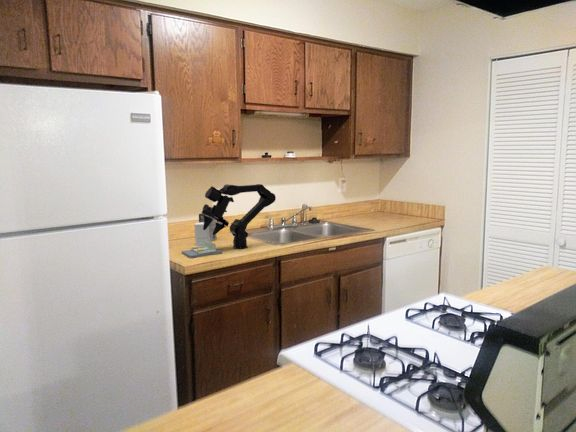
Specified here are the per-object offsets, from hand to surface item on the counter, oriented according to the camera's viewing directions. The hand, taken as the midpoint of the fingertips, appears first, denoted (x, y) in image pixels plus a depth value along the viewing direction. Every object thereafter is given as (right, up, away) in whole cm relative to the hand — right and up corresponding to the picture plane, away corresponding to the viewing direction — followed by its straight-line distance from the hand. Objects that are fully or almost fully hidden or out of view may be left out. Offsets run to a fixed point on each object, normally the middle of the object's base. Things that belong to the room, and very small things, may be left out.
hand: (208, 232), depth 223 cm
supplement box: (-7, -8, +21) cm, 23 cm away
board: (-3, -11, -1) cm, 12 cm away
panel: (-3, -10, -1) cm, 10 cm away
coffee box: (-7, -6, +34) cm, 35 cm away
